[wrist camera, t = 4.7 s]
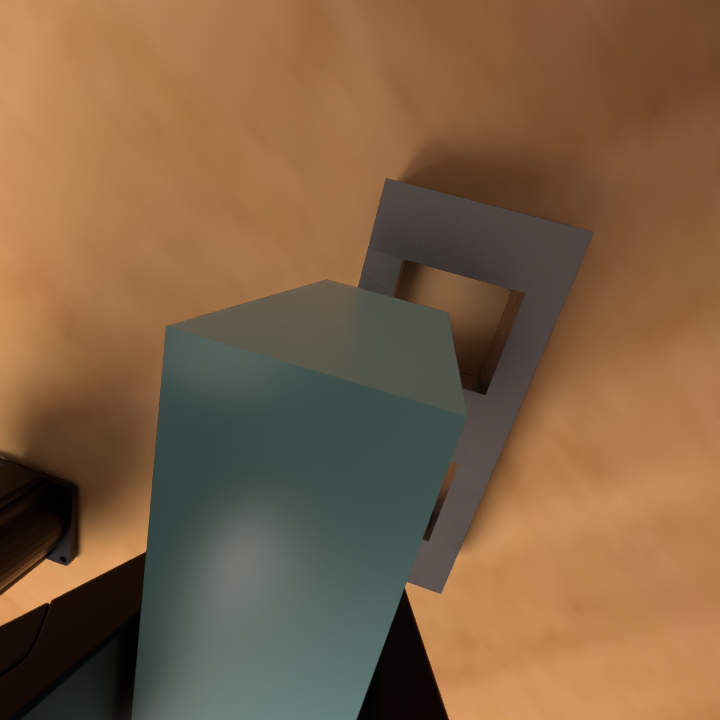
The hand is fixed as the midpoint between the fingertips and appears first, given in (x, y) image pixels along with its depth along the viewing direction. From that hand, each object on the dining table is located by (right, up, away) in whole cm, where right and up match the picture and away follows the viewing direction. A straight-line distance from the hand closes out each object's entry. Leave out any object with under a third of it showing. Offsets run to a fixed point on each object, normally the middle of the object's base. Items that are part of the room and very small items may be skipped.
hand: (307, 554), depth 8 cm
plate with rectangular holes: (+4, +2, +12) cm, 13 cm away
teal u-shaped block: (+1, +1, +3) cm, 3 cm away
